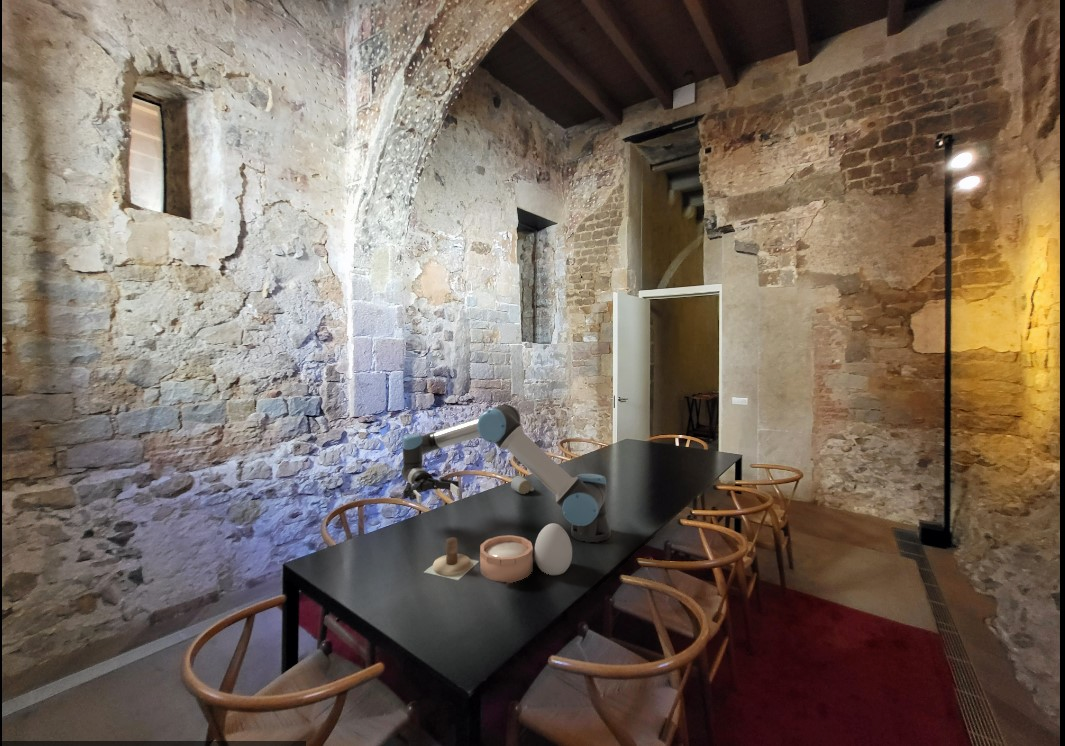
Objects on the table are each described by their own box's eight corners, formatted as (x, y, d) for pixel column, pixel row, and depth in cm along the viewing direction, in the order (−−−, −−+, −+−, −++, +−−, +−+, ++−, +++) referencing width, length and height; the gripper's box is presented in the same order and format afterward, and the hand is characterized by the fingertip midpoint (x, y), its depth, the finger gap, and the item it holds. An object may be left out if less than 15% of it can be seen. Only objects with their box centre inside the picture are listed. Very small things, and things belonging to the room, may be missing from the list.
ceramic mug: (519, 496, 213) (519, 480, 213) (510, 491, 220) (510, 476, 220) (537, 492, 219) (537, 477, 219) (528, 488, 226) (528, 473, 226)
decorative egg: (567, 558, 151) (566, 515, 150) (576, 576, 139) (576, 530, 138) (531, 561, 149) (531, 518, 148) (538, 580, 137) (537, 533, 136)
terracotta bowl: (540, 562, 148) (540, 540, 148) (519, 588, 133) (518, 563, 132) (495, 553, 155) (495, 532, 155) (470, 576, 140) (469, 553, 139)
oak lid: (477, 561, 148) (476, 535, 148) (457, 579, 137) (456, 550, 137) (447, 555, 153) (446, 529, 152) (425, 571, 142) (425, 544, 142)
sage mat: (479, 562, 149) (479, 561, 149) (458, 581, 137) (458, 580, 137) (446, 555, 154) (446, 554, 154) (423, 573, 142) (423, 572, 142)
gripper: (451, 483, 177) (473, 499, 159) (387, 495, 164) (403, 513, 146) (451, 465, 177) (472, 479, 159) (387, 475, 164) (402, 491, 146)
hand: (439, 495), depth 152 cm, fingers open, 13 cm apart
